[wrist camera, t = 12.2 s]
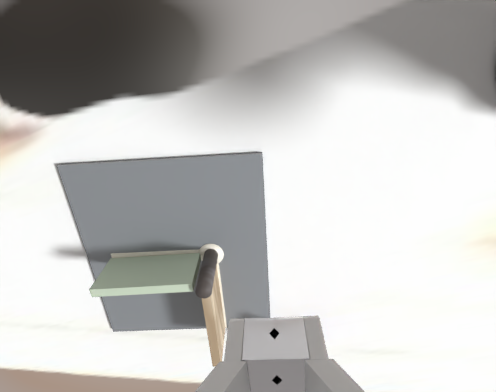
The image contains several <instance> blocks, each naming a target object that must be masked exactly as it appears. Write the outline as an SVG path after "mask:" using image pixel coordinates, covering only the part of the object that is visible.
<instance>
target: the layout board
mask: <svg viewBox="0 0 496 392" xmlns="http://www.w3.org/2000/svg"><path fill="white" fill-rule="evenodd" d="M57 168H58V171H59V174H60V177H61V180H62V182H63V185H64V188H65V191H66V194H67V197H68V200H69V203H70V206H71V209H72V212H73V215H74V218H75V221H76V224H77V227H78V229H79V232H80V235H81V238H82V241H83V244H84V247H85V250H86V253H87V256H88V259H89V262H90V265H91V268H92V271H93V274H94V276H95V279H97V278H98V276H99V275H100V273H101V272H102V270H103V269H104V267H105V266H106V264H107V263H108V261H109V260H110V258H125V257H142V256H158V255H174V254H191V253H200V256H201V262H200V266H199V270H198V275H197V279H196V283H195V287H194V291H193V292H175V293H157V294H139V295H121V296H102V300H103V303H104V306H105V309H106V312H107V315H108V318H109V321H110V323H111V326H112V329H113V332H115V331H143V330H171V329H199V328H206V322H205V316H204V310H203V304H202V298H200V297H198V296H197V295H196V293H195V290H196V286H197V282H198V277H199V273H200V269H201V265H202V261H203V257H204V253H205V251H206V250H207V249H214V250H216V251H217V252H218V259H217V271H218V278H219V286H220V293H221V301H222V308H223V316H224V323H225V328H227V327H228V325H229V321H230V319H245V318H270V303H269V282H268V261H267V241H266V220H265V199H264V179H263V158H262V152H259V153H242V154H225V155H208V156H191V157H174V158H157V159H140V160H123V161H106V162H89V163H72V164H59V165H57Z"/></svg>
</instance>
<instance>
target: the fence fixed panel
mask: <svg viewBox="0 0 496 392" xmlns="http://www.w3.org/2000/svg"><path fill="white" fill-rule="evenodd" d="M217 259H218V252H217V251H216V250H214V249H207V250H206V251H205V253H204V257H203V261H202V265H201V269H200V273H199V277H198V282H197V286H196V290H195V293H196V295H197V296H198V297H200V298H202V304H203V310H204V316H205V322H206V328H207V334H208V340H209V346H210V352H211V358H212V364H213V366H216V365H217V364H218V363H219V362H222V354H223V344H224V334H225V323H224V316H223V308H222V301H221V293H220V286H219V278H218V271H217Z"/></svg>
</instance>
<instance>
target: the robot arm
mask: <svg viewBox="0 0 496 392" xmlns="http://www.w3.org/2000/svg"><path fill="white" fill-rule="evenodd" d="M195 392H364V390H363V389H362V388H361V387H360V386H359V385H358V384H357V383H356V382H355V381H354V380H353V379H352V378H351V377H350V376H349V375H348V374H347V373H346V372H345V371H344V370H343V369H342V368H341V367H340V366H339V365H338V363H337V362H336V361H335V360H334V359H328V355H327V350H326V346H325V341H324V336H323V332H322V327H321V322H320V318H319V317H318V316H299V317H278V318H245V319H230V321H229V325H228V333H227V341H226V349H225V357H224V362H219V363H218V364H217V365H216V367H215V368H214V369H213V370H212V372H211V373H210V374H209V375H208V376H207V378H206V379H205V380H204V381H203V383H202V384H201V385H200V386H199V387H198V389H197V390H196V391H195Z"/></svg>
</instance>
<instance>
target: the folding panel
mask: <svg viewBox="0 0 496 392" xmlns="http://www.w3.org/2000/svg"><path fill="white" fill-rule="evenodd" d="M200 262H201V256H200V253H191V254H174V255H158V256H142V257H125V258H110V260H109V261H108V263H107V264H106V266H105V267H104V269H103V270H102V272H101V273H100V275H99V276H98V278H97V279H96V280H95V282H94V283H93V285H92V286H91V288H90V289H89V291H90V293H91V296H92V297H102V296H121V295H139V294H157V293H175V292H193V291H194V287H195V283H196V279H197V275H198V270H199V266H200Z"/></svg>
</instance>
